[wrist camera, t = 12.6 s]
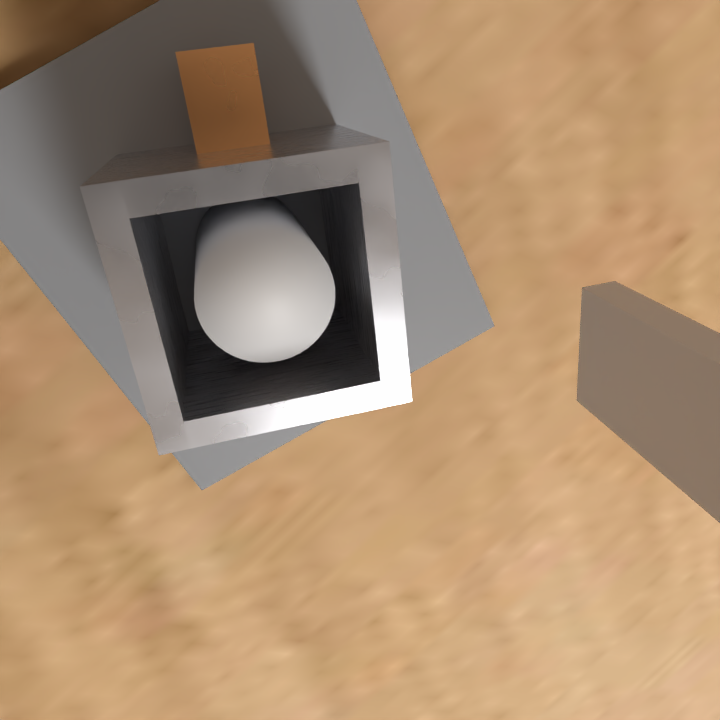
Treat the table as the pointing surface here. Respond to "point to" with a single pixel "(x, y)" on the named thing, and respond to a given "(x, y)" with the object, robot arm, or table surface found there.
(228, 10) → the grey base with peg
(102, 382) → the table surface
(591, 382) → the robot arm
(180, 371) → the collar
